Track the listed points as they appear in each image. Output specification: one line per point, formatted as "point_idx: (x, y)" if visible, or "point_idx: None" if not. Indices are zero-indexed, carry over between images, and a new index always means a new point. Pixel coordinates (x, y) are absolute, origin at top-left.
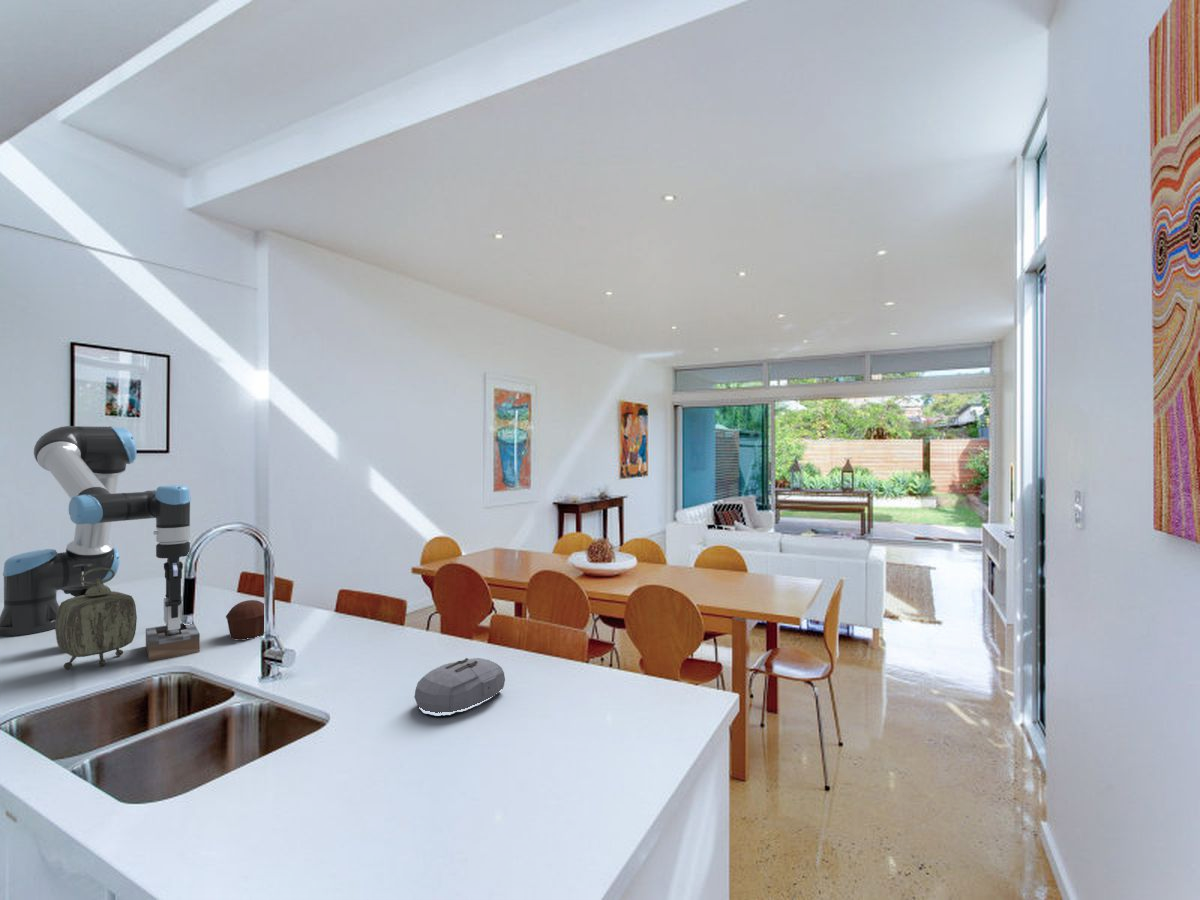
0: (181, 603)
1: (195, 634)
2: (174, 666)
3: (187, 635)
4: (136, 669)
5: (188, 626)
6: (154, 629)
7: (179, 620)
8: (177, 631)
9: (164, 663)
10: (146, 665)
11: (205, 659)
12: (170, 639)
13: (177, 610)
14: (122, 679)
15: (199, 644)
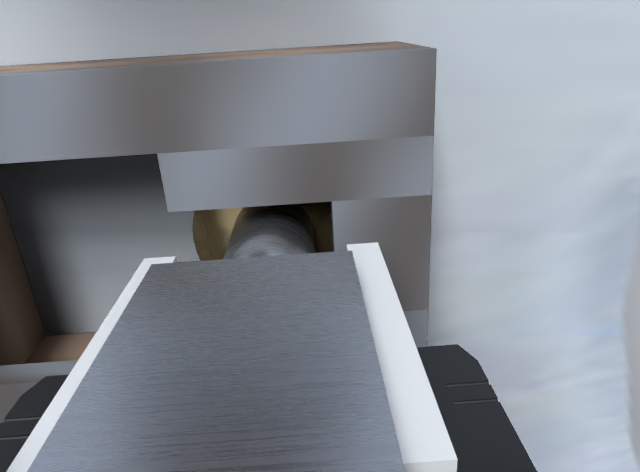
0: (398, 452)
1: (434, 88)
2: (613, 202)
3: (419, 159)
4: (503, 368)
5: (50, 140)
6: (25, 390)
7: (397, 296)
8: (306, 246)
9: (502, 251)
10: (466, 331)
11: (624, 11)
12: (426, 281)
13: (508, 426)
14: (622, 410)
15: (410, 44)
